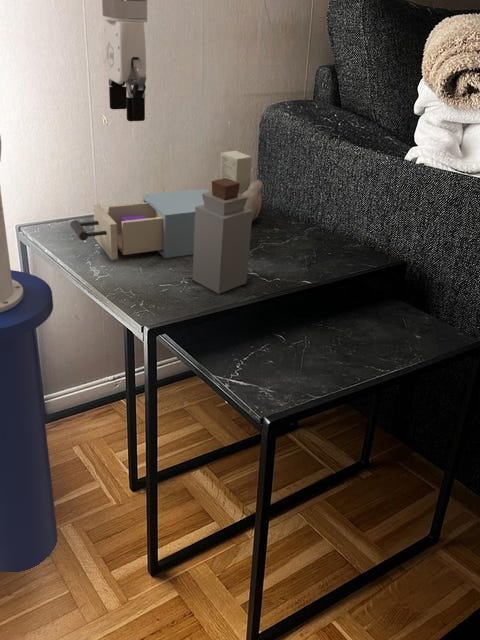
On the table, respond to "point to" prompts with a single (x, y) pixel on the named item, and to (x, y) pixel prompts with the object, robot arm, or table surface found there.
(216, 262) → the perfume bottle
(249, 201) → the decorative bird
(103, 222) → the beige drawer
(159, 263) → the table surface
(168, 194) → the drawer cabinet
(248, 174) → the cosmetic box
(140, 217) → the purple rounded cube
